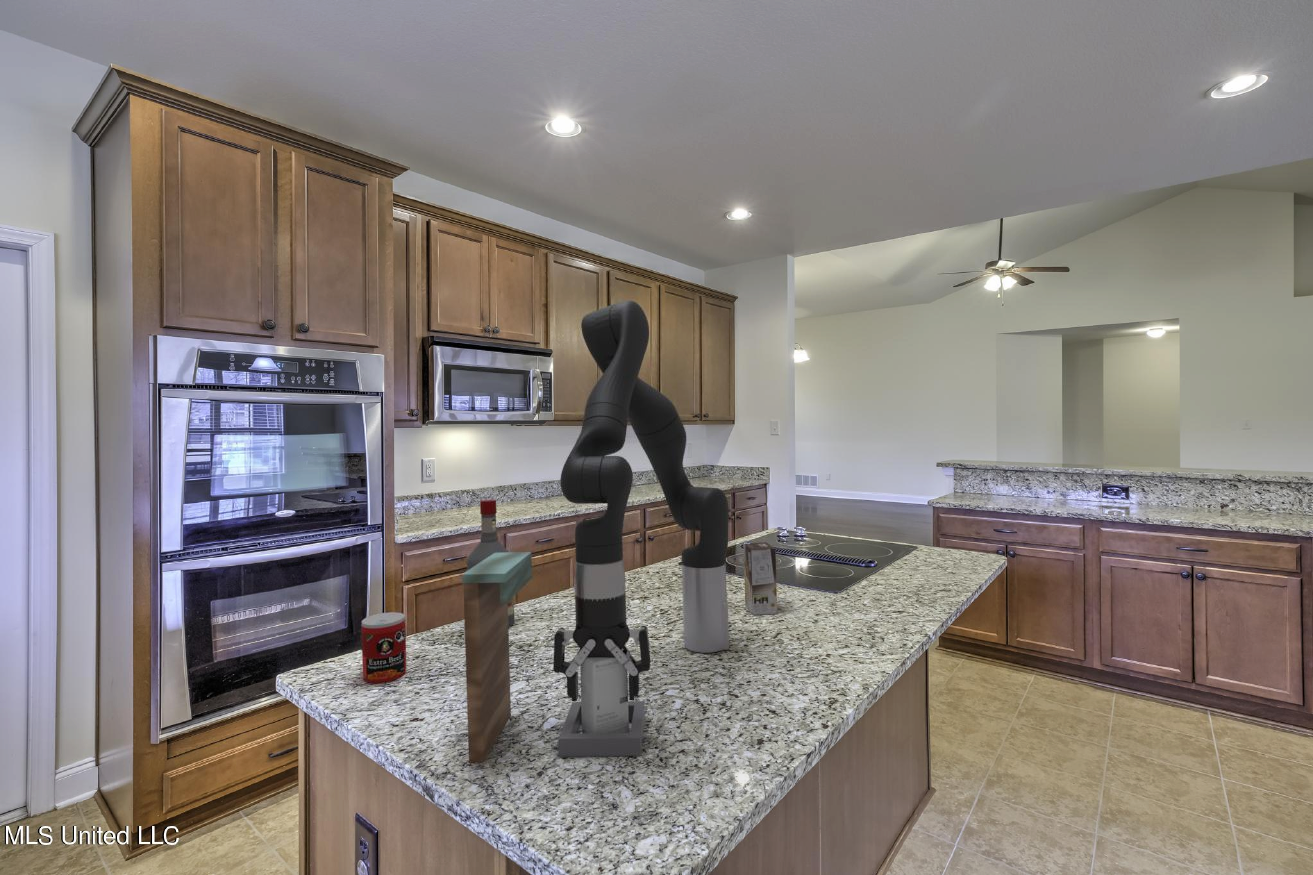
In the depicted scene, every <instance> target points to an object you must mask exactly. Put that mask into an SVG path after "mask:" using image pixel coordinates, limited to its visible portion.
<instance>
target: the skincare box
mask: <svg viewBox="0 0 1313 875" xmlns="http://www.w3.org/2000/svg"><path fill="white" fill-rule="evenodd" d="M624 654H625V653H624ZM620 657H621V656H620ZM628 673H629V672H628V671H627V669H626V668H625V667H624V666H623V665H621V663H620V662H619V661H618V660H617V658H616V657H615V658H588V657H586V658H585V660H584V661H583V663H582V664H581V665H580V698H581V699H580V702H581V715H582V722H581V733H630V730H629V729H630V723H629V722H630V721H629V714H628V701H629V674H628Z"/></svg>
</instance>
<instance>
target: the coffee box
mask: <svg viewBox="0 0 1313 875" xmlns="http://www.w3.org/2000/svg"><path fill="white" fill-rule="evenodd" d="M742 545H743V571H744V598H745V599H744V600H745V603H744V604H745V607H746V608H747V609H748V611H750V613H751V614H752V615H753V616H755V615H758V616H759V615H775V614H776V615H777V613H778V595H777V594H778V593H777V592H778V591H777V587H778V586H777V585H778V584H777V558H776V557H777V556H776V555H777V554H776V552H777V551H776V548H775V547H774V546H772V545H771V544H769V543H768V542H765V541H764V542H748V543H745V542H744V543H743V544H742Z"/></svg>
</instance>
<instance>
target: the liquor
mask: <svg viewBox="0 0 1313 875" xmlns="http://www.w3.org/2000/svg"><path fill="white" fill-rule="evenodd" d="M479 504H480V505H479V506H480V507H479V508H480V510H479V513H480V515H481V516H480V518H481V519H480V521H481V522H480V523H481V536H480V540H479V541H480V542H478V544H477V546H475V548H474V549H473V550H472V551H471V553H470V554H469V555H468V558H467V561H466V571H468V570H469V569H471V568H472V567H474V566H475V565H477V564H479V563H480V562H482V561H483V560H485V559H486V558H488V557H489V556H491V555H492V554H494V553H505V552H509V550H508V549H507V548H506V547H505V546H503V544H502V543H501V542H500V541H499V537H498V534H497V533H498V532H497V513H498V512H497V500H496V499H484V500H480V501H479ZM515 619H516V618H515V596H514V597H513V598H512V599H511V600H510V601H509V602H508V627H509V628H510V626H511V627H513V625H514V623H515V621H516V620H515Z"/></svg>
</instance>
